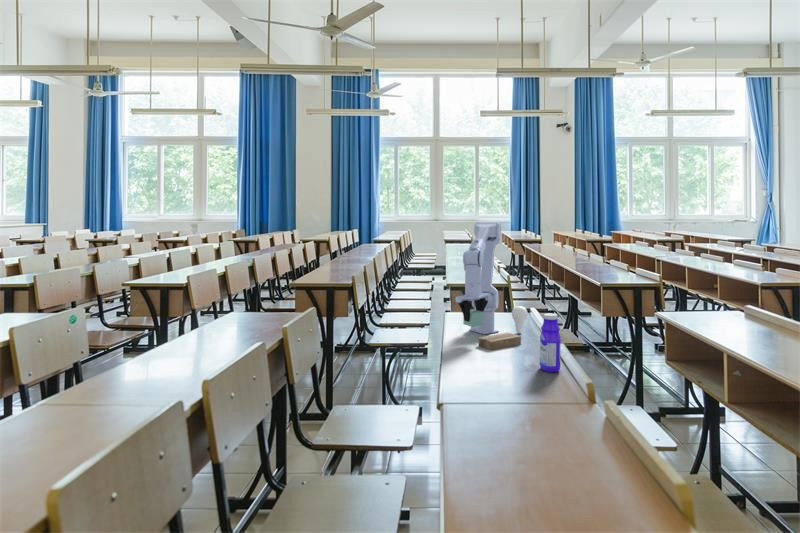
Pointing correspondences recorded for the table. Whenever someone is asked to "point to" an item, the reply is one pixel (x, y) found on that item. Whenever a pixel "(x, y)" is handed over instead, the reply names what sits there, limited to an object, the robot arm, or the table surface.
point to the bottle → (550, 344)
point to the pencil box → (499, 341)
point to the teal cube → (474, 318)
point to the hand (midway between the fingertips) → (472, 319)
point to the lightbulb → (519, 318)
